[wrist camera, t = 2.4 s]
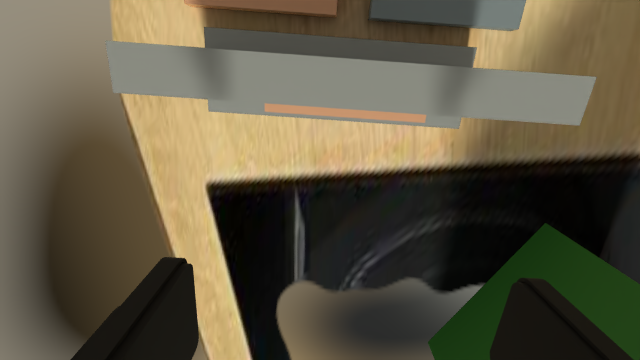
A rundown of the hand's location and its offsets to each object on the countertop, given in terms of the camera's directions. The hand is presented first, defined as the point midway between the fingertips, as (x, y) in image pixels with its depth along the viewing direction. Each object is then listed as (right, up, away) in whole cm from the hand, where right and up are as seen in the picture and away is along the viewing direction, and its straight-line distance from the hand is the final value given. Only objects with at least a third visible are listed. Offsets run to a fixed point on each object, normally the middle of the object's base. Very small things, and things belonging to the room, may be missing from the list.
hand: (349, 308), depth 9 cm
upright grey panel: (0, +12, +15) cm, 20 cm away
